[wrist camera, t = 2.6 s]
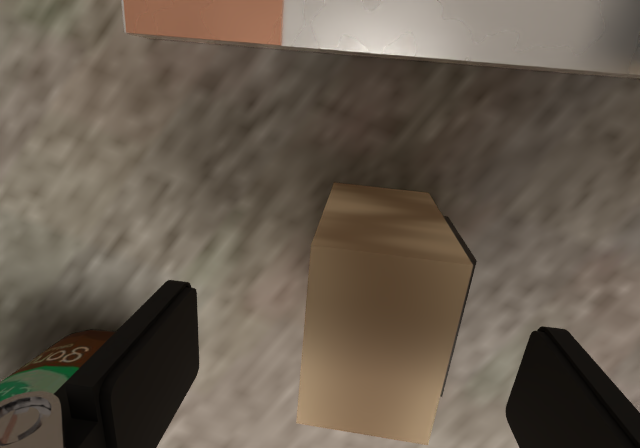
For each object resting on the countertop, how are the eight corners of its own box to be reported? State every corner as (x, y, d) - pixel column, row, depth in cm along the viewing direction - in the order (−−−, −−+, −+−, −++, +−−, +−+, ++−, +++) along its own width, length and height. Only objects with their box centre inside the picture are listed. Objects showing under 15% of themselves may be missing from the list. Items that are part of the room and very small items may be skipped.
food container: (127, 272, 19) (-115, 453, 9) (201, 361, 20) (55, 597, 11) (-16, 362, 22) (-298, 562, 13) (56, 433, 23) (-151, 660, 14)
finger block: (442, 194, 15) (498, 268, 9) (417, 315, 18) (448, 448, 11) (334, 182, 16) (310, 244, 9) (322, 302, 18) (296, 423, 11)
